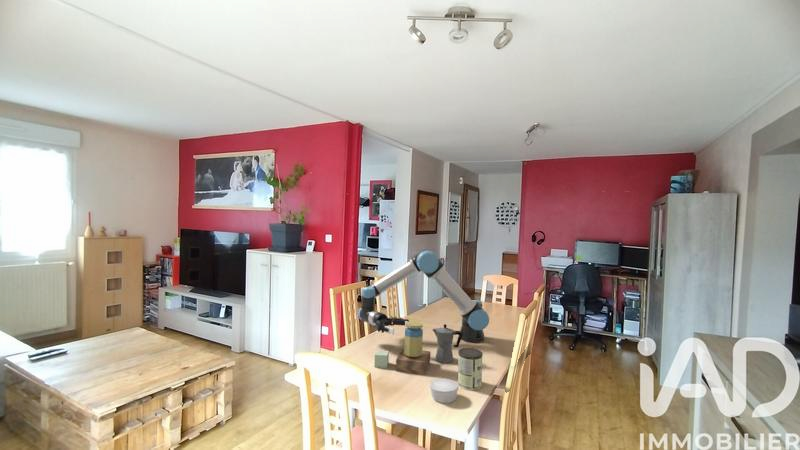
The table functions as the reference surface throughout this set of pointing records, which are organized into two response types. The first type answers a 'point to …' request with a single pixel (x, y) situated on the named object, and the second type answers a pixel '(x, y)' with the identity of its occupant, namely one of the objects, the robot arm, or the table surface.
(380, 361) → the sage cube
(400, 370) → the walnut block
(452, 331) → the coffeepot
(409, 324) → the jar
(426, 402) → the table surface
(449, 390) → the ramekin
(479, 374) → the coffee can
